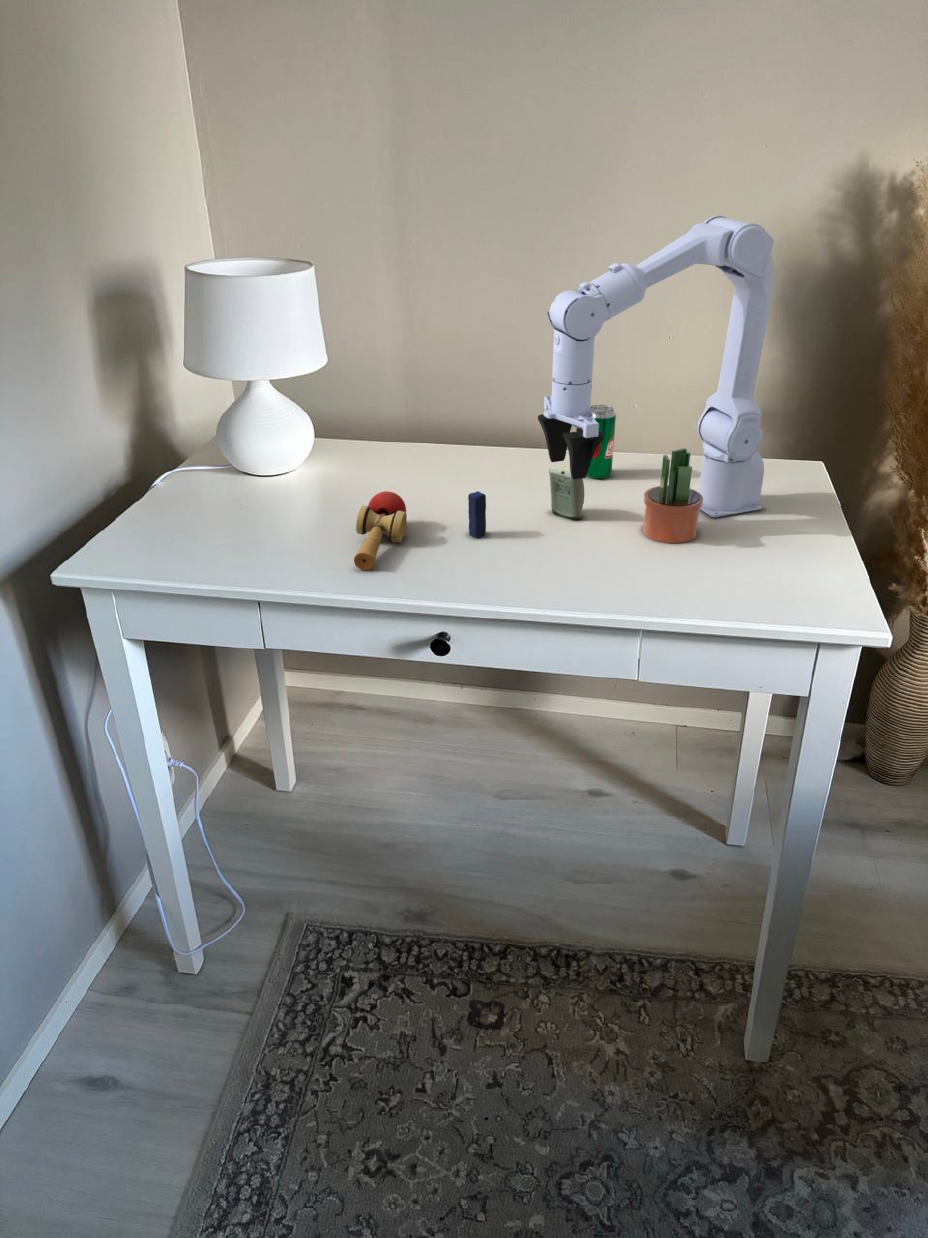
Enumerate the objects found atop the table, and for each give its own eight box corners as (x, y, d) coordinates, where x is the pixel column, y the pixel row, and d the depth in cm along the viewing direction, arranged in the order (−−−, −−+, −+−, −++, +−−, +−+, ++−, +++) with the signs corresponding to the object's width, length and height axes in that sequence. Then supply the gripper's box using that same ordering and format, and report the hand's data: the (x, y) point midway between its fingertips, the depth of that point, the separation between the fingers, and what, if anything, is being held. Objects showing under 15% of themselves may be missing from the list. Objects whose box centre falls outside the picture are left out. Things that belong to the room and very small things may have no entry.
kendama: (397, 579, 140) (419, 514, 154) (386, 542, 136) (410, 479, 150) (346, 584, 141) (373, 519, 156) (334, 548, 138) (362, 485, 152)
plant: (679, 517, 155) (688, 436, 149) (710, 539, 148) (720, 455, 141) (630, 525, 152) (637, 443, 146) (659, 548, 145) (668, 462, 139)
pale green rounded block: (546, 520, 154) (548, 473, 151) (548, 507, 159) (550, 461, 155) (582, 522, 154) (585, 474, 150) (583, 509, 158) (586, 462, 154)
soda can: (610, 480, 169) (615, 413, 163) (581, 478, 170) (585, 411, 164) (612, 470, 173) (617, 404, 168) (584, 468, 174) (587, 403, 168)
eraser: (487, 535, 150) (487, 494, 146) (475, 539, 149) (475, 497, 145) (478, 531, 151) (478, 489, 148) (467, 534, 150) (466, 493, 147)
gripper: (526, 369, 144) (524, 456, 151) (568, 396, 132) (563, 489, 139) (569, 364, 146) (565, 451, 153) (614, 390, 135) (608, 483, 141)
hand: (567, 469), depth 146 cm, fingers open, 7 cm apart
